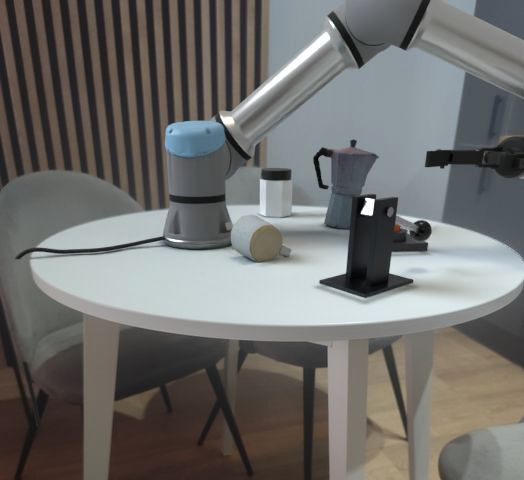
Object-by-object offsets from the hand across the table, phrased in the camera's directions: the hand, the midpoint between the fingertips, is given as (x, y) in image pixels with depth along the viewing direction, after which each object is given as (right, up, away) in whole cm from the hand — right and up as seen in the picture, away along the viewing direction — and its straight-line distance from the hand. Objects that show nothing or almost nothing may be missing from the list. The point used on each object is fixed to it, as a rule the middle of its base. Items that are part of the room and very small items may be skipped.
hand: (462, 161), depth 84 cm
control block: (-8, -11, +18) cm, 23 cm away
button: (-8, -8, +16) cm, 20 cm away
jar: (-30, +5, +54) cm, 62 cm away
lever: (-13, -13, -6) cm, 19 cm away
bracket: (-18, -22, -6) cm, 29 cm away
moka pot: (-14, -1, +40) cm, 42 cm away
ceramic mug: (-34, -15, +10) cm, 38 cm away
